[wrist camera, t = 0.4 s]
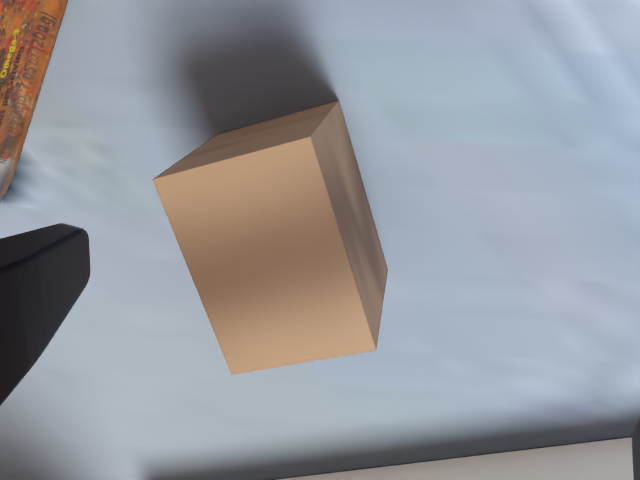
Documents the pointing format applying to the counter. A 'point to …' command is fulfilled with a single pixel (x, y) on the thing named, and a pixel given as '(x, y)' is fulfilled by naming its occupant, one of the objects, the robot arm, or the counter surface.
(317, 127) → the tea box
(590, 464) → the rail
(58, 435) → the counter surface
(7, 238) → the robot arm
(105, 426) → the counter surface
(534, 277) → the counter surface
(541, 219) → the counter surface
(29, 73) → the tin
